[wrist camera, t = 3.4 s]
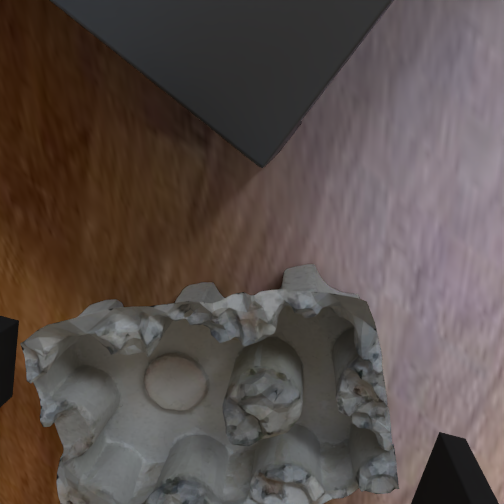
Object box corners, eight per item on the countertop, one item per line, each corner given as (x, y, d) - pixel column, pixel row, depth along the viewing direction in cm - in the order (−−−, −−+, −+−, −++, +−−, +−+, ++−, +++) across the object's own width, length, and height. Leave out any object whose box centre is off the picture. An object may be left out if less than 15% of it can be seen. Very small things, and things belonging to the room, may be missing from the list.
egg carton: (106, 467, 18) (50, 563, 14) (56, 286, 16) (-26, 338, 12) (387, 452, 16) (412, 556, 12) (366, 248, 14) (389, 294, 10)
